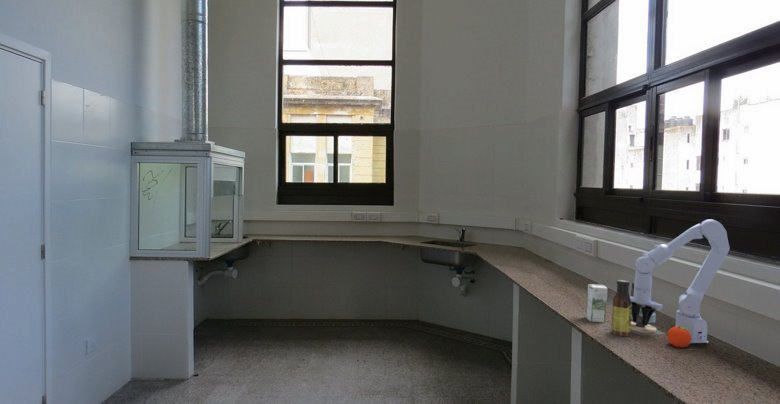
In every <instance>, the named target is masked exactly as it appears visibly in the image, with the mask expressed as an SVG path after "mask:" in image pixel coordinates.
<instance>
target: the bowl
mask: <svg viewBox="0 0 780 404" xmlns="http://www.w3.org/2000/svg"><path fill="white" fill-rule="evenodd" d="M639 315H643V314H642V310H641V309H640V312H639ZM656 318H657V314H656V312H653V314H652V315H651V317H650V319H649V322H648V324H655V323H656ZM631 321H633V317H632V314H631Z"/></svg>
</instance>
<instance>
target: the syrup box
mask: <svg viewBox="0 0 780 404" xmlns="http://www.w3.org/2000/svg"><path fill="white" fill-rule="evenodd" d="M608 290H609V289H608V287H607V286H605V284H604V285H603V284H595V283H593V284H592V283H588V284H587V296H586V297H587V298H586V312H585V318H586V319H587V320H588V321H589V322H592V323H606V315H607V303H608V302H607V300H608Z"/></svg>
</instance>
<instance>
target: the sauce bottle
mask: <svg viewBox="0 0 780 404" xmlns="http://www.w3.org/2000/svg"><path fill="white" fill-rule="evenodd" d="M616 285H617V286H616V294H615V295H614V296H613V298H612V309H611V310H612V311H611V312H612V313H611V333H612V334H613V335H614V336H615V335H616V336H619V337H624V338H627V337H630V335H631V333H632V332H631V322H632V320H631V314H632V302H631V299H630V296H631V295H630V292H629V290H630V288H629V287H630V281H628V280H627V279H626V280H625V279H617V280H616Z"/></svg>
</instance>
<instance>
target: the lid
mask: <svg viewBox="0 0 780 404" xmlns="http://www.w3.org/2000/svg"><path fill="white" fill-rule="evenodd" d="M642 320H643V315H636V323H634V322H633V321H631V331H635V332H639V333H647V334H648V335H653V334H652V333H656V330H657V328H656V326H653V325H651V324H648V325H647V326H643V324H642Z"/></svg>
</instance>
